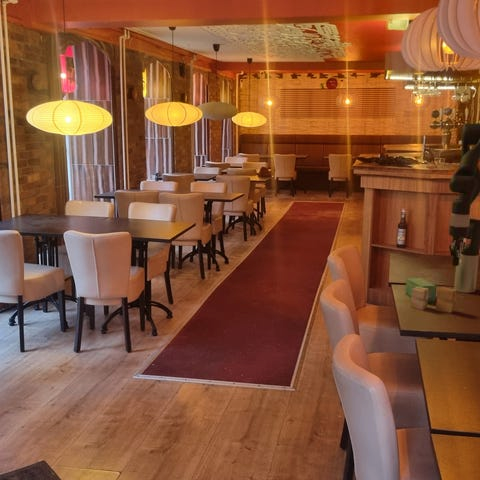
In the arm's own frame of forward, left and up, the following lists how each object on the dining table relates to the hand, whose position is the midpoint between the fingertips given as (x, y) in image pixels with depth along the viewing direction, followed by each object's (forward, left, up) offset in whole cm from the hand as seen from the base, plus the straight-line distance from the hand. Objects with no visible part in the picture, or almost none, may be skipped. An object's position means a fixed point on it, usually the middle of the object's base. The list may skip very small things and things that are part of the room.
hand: (455, 265), depth 253 cm
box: (-2, -15, -18) cm, 23 cm away
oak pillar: (+8, 0, -18) cm, 19 cm away
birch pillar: (+11, -10, -18) cm, 23 cm away
